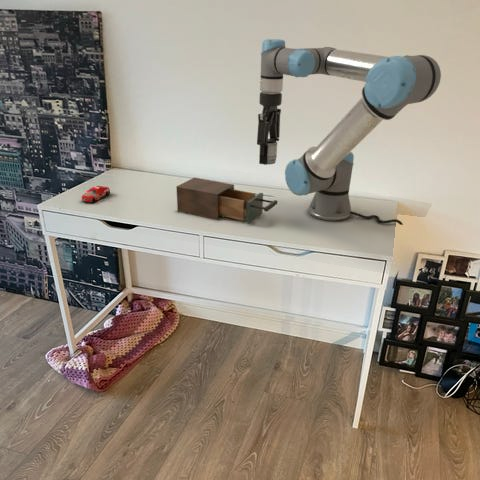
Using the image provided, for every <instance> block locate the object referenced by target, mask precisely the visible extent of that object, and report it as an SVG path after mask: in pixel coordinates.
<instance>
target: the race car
mask: <svg viewBox="0 0 480 480" xmlns="http://www.w3.org/2000/svg"><path fill="white" fill-rule="evenodd" d="M110 194H111V189H110V187H109V186H106V185H95V186H92V187H91V188H89V189H88V190H86V192H85V193H84V194H83V195H81V197H80V198H81V201H82V202H84V203H94V204H95V203H96V201H99V200H100V199H103V198H107V197H109V195H110Z"/></svg>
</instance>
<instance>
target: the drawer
mask: <svg viewBox="0 0 480 480" xmlns="http://www.w3.org/2000/svg"><path fill="white" fill-rule="evenodd" d="M264 203H269V204H267V205H266V206H263V205H264ZM277 205H278V201H277V199H274V200H269V199H264V192H259V193H258V194H256V193H255V192H249V191H246V190H239V189H235V188H234V189H230V190H228V191H227V192H225V193H223V194H222V195H220V196H219V215H221V216H223V217H227V218H231V219H234V220H240V221H245V224H250V223H251V222H253V221H254V220H255V219H257V218H258V217H259V216H261V215H263V210H264V212H269V211H270V210H271V209H273V208H274V207H275V206H277Z"/></svg>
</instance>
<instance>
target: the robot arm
mask: <svg viewBox="0 0 480 480" xmlns="http://www.w3.org/2000/svg"><path fill="white" fill-rule="evenodd" d="M260 58H261V59H260V80H259V90H260V91H261V92H260V93H259V101H258V103H259V105H261V106H262V111H261V113H258V115H257V119H258V123H257V134H256V135H257V136H256V145H257V146H259V149H260V159H258V160H259V161H258V164H259V165H268V164H267V154H268V145H267V140H268V139H273V140H275V141H277V142H279V141H280V133H281V131H280V129H281V114H282V109H281V108H278V107H279V106H281V105H282V103H283V101H282V100H283V94H282V92H283V88H284V75H285V76H291V77H295V78H308V77H309V76H311V75H325V76H332V77H336V78H342V79H347V80H352V81H357V82H362V83H364V86H363V87H362V89H361V97H360V99H359V100H358V101H357V102H356V103H355V104H354V105H353V106H352V107H351V109H350V110H349V111H348V112H347V113H346V114H345V115H344V116H343V117H342V118H341V120H340V121H338V123H337V124H336V125H335V126H334V127H333V128H332V129H331V131H330V132H329V133H328V134H327V135H326V136H325V137H324V138H323V139H322V140H321V141H320V143H319V144H318V145H317V146H311V147H309V148H308V149H307V150H306V151H304V153H303V154H302V155H301V156H300V157H299V158H297V159H292V160H290V161H289V162H288V163H287V164H286V167H285V169H284V176H285V177H284V178H285V183H286V185H287V188H288V189H289V191H290V192H291V193H292V194H294V195H295V196H299V197H300V196H307V195H309V194H313V193H314V195H313V197H312V199H311V202H310V204H309V207H308V213H309V215H310V216H312V217H313V218H316V219H318V220H322V221H328V222H329V221H330V222H340V221H344V220H347V219H349V218H350V217H351V216H352V215H353V216H356V217H360V218H361V219H362V218H363V219H366V220H369V219H376V221H377V222H378V223H380V224H390V223H397V224H398V225H401V226H403V225H404V223H403V222H402V221H401V220H400V219H394V218H392V219H387V220H382V219H380V216H378V215H375V214H372V215H364V214H361V213H358V212H355V211H352V207H351V201H350V188H351V187H350V186H351V181H352V174H353V167H354V164H355V163H354V159H355V156H354V155H355V154H354V153H353V152H352V151H353V150H354V149H355V148H356V147H357V146H359V144H360V143H362V141H363V140H364V139H365V138H366V137H367V136H368V135H370V133H371V132H373V130H374V129H375V128H377V126H378V125H379V124H381V123H382V121H391V120H392V119H393V118H394V117H396V115H398V113H400V112H401V111H402V110H403V109H404V108H406V106H407V105H412V104H418V103H423V102H424V101H426V100H428V99H429V98H431V97H432V96H433V95H434V94H435V92H436V91H437V90H438V88H439V86H440V84H441V79H442V73H441V72H442V71H441V68H440V65H439V63H438V62H437V61H436V60H435V59H434V58H433V57H431V56H428V55H425V54H418V55H408V54H407V55H403V56H402V55H393V56H385V55H380V54H379V55H377V54H371V53H364V52H356V51H351V50H342V49H337V48H336V47H332V46H324V47H309V48H308V47H306V48H305V47H304V48H293V47H292V48H290V47H286V41H285V40H284V39H281V38H280V39H279V38H278V39H277V38H265V39H264V40H263V41H262V44H261V52H260ZM399 271H400V270H398V271H397V273H396V274H395V277H394V278H393V283H392V289H393V290H394V289H396V284H397V280H398V275H399Z"/></svg>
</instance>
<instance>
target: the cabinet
mask: <svg viewBox="0 0 480 480" xmlns="http://www.w3.org/2000/svg"><path fill="white" fill-rule="evenodd" d="M230 189H235V184H232V183H227V182H221V181H216V180H210V179H206V178H199V177H192V178H190V179H189V180H187V181H184V182H182V183H181V184H178V185H176V205H177V212H178V213H183V214H188V215H193V216H197V217H202V218H205V219H211V220H216V221H219V220H220V219H222V218H223V217H224V216H221V215H219V196H220V195H222V194H223V193H225V192H227V191H228V190H230Z"/></svg>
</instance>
